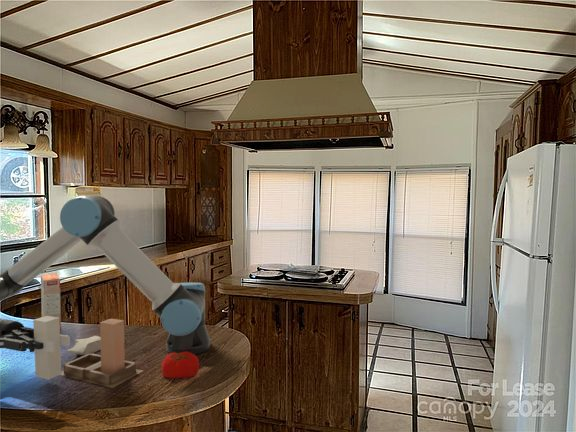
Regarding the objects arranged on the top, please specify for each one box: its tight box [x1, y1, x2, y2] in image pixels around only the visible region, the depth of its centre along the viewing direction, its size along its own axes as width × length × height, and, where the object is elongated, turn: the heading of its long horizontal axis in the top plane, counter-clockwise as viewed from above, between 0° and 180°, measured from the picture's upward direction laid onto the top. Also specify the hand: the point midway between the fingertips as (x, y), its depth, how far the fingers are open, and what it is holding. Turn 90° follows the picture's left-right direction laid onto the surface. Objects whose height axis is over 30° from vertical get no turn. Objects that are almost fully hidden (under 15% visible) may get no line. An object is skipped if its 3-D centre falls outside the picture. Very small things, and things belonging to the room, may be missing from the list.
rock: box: [66, 335, 126, 356], centre depth 145 cm, size 21×5×15 cm
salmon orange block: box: [99, 318, 126, 374], centre depth 122 cm, size 4×5×16 cm
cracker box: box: [40, 272, 62, 332], centre depth 167 cm, size 14×6×21 cm, turn 34°
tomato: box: [161, 351, 200, 380], centre depth 125 cm, size 10×11×6 cm
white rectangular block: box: [33, 316, 62, 380], centre depth 116 cm, size 4×5×16 cm
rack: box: [59, 353, 144, 389], centre depth 124 cm, size 22×12×4 cm, turn 67°
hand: (61, 343), depth 114 cm, fingers closed on white rectangular block, 4 cm apart
